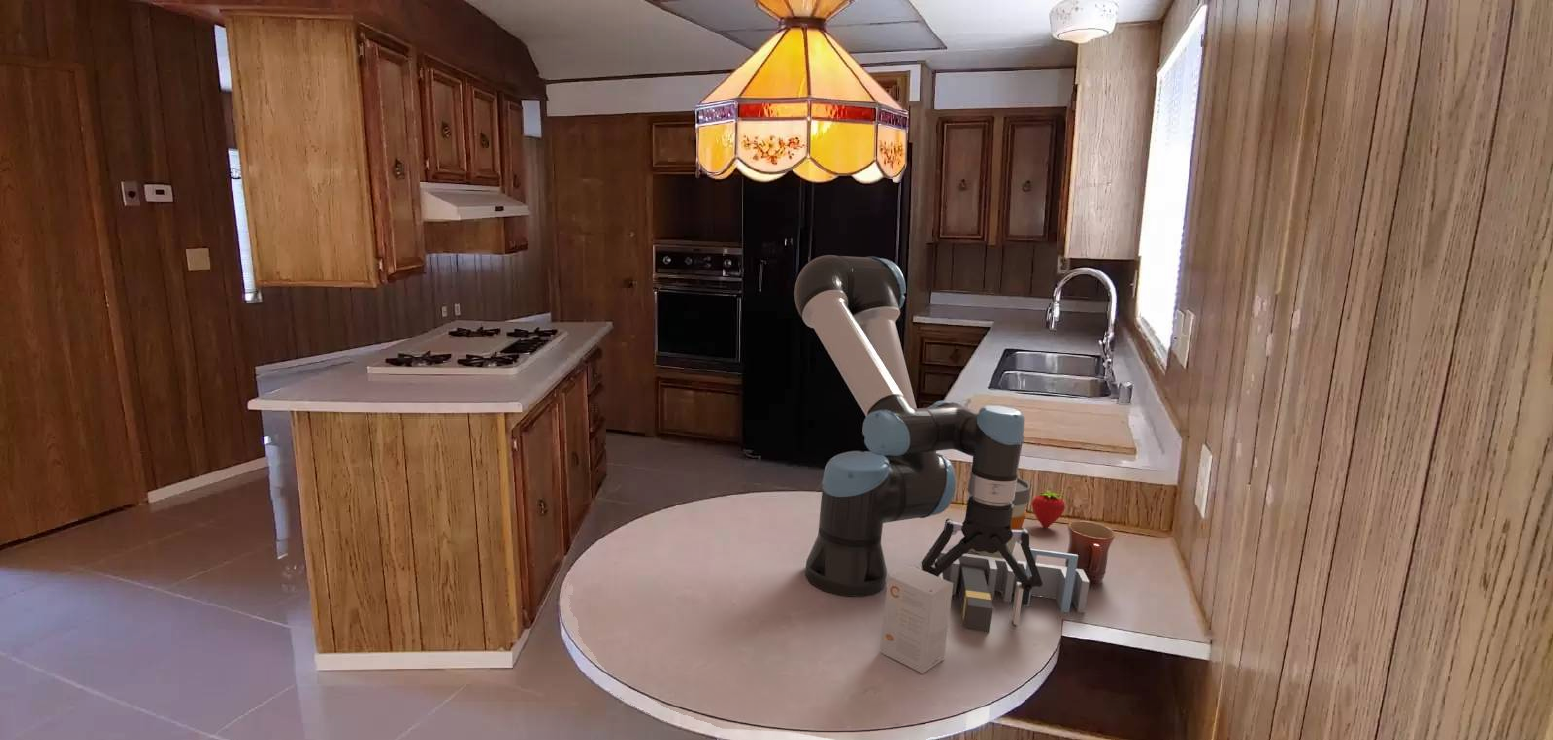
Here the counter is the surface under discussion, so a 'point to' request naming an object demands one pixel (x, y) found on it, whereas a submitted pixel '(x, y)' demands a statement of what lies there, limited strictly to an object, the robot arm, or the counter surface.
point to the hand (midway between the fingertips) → (975, 615)
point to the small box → (916, 618)
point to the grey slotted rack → (1006, 580)
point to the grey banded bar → (975, 599)
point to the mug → (1090, 548)
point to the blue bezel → (1069, 574)
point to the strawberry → (1048, 508)
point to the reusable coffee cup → (1014, 514)
